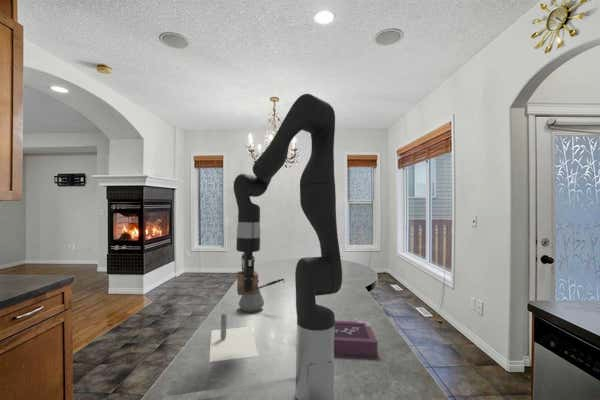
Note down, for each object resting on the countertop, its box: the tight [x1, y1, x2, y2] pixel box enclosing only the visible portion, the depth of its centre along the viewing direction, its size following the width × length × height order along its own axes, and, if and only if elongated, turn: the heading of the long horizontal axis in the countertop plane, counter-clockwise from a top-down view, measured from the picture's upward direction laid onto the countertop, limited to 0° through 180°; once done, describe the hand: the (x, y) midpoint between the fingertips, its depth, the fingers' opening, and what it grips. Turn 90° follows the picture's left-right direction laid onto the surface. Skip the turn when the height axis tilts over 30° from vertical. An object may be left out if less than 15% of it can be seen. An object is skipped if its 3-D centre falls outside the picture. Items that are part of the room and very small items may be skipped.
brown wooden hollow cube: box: [236, 270, 259, 296], centre depth 91 cm, size 6×6×6 cm
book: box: [334, 320, 378, 357], centre depth 97 cm, size 25×16×5 cm, turn 86°
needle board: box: [208, 312, 260, 363], centre depth 93 cm, size 22×14×10 cm, turn 16°
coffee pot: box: [238, 278, 286, 313], centre depth 127 cm, size 21×12×15 cm, turn 75°
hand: (247, 288), depth 91 cm, fingers closed on brown wooden hollow cube, 6 cm apart
